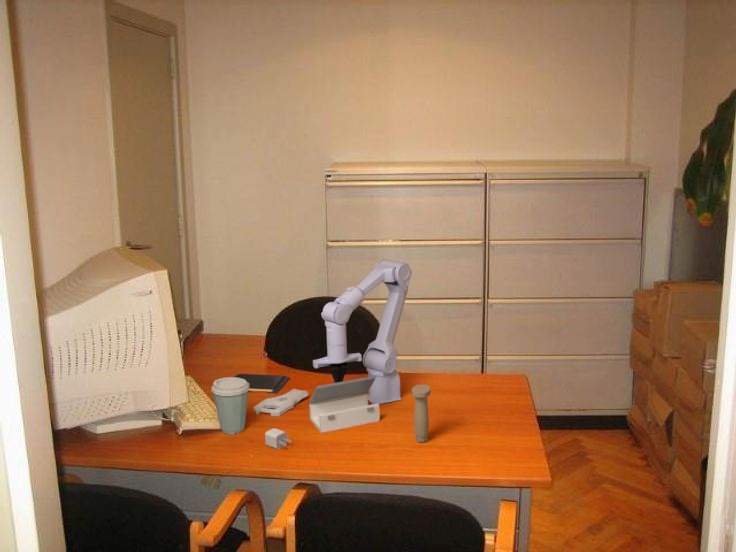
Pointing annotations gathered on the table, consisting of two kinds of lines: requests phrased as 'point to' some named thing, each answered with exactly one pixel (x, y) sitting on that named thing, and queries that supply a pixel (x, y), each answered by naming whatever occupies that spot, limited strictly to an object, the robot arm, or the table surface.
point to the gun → (280, 402)
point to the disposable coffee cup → (231, 403)
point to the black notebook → (264, 382)
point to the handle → (421, 412)
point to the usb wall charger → (276, 438)
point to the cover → (341, 389)
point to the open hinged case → (343, 413)
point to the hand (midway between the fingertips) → (338, 387)
